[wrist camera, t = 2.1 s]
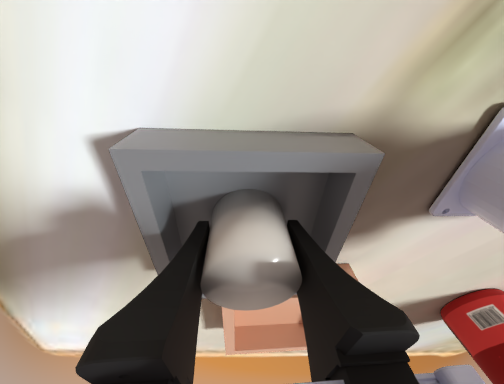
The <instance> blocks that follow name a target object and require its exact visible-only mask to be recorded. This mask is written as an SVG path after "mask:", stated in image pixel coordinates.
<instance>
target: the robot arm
mask: <svg viewBox="0 0 504 384" xmlns="http://www.w3.org/2000/svg"><path fill="white" fill-rule="evenodd" d="M429 213H431V214H432V215H433V216H478V217H479V218H481V219H482V220H484V221H486V222H487V223H489V224H490V225H492V226H493V227H495V228H496V229H498V230H500V231H501V232H503V233H504V107H503V108H502V109H501V110H500V111H499V113H498V114H497V115H496V117H495V118H494V120H493V121H492V122H491V124H490V125H489V126H488V128H487V129H486V131H485V132H484V133H483V135H482V136H481V138H480V139H479V140H478V142H477V143H476V145H475V146H474V147H473V149H472V150H471V152H470V153H469V154H468V156H467V157H466V159H465V160H464V161H463V163H462V164H461V165H460V167H459V168H458V170H457V171H456V172H455V174H454V175H453V177H452V178H451V179H450V181H449V182H448V184H447V185H446V186H445V188H444V189H443V191H442V192H441V193H440V195H439V196H438V197H437V199H436V200H435V202H434V203H433V204H432V206H431V207H430V209H429ZM287 228H288V231H289V235H290V238H291V241H292V245H293V248H294V251H295V254H296V258H297V261H298V264H299V268H300V271H301V275H302V283H301V286H300V288H299V290H298V291H297V296H298V301H299V306H300V311H301V316H302V322H303V327H304V333H305V339H306V345H307V352H308V358H309V365H310V372H311V380H312V382H309V383H295V384H485V382H484V381H483V380H482V379H481V377H480V376H479V375H478V373H477V372H476V371H475V369H474V368H473V367H472V366H471V365H457V366H447V367H442V368H439V369H437V370H436V371H434V373H426V374H414V373H413V372H412V370H411V368H410V366H409V365H408V363H407V362H409V361H410V359H409V357H408V355H407V353H406V352H405V350H407V349H408V348H409V347H411V346H412V345H413V344H415V343H416V342H417V341H418V339H419V333H418V332H417V330H416V329H415V327H414V326H413V324H412V323H411V321H410V320H409V318H408V317H407V315H406V314H405V313H404V312H403V311H402V310H400V309H398V308H397V307H395V306H394V305H392V304H390V303H389V302H387V301H386V300H384V299H382V298H381V297H379V296H378V295H376V294H375V293H373V292H372V291H371V290H369V289H368V288H366V287H365V286H364V285H362V284H361V283H360V282H358V281H357V280H356V279H354V278H353V277H352V276H350V275H349V274H348V273H347V272H346V271H344V270H343V269H342V268H341V267H340V266H339V265H338V264H336V263H335V262H334V261H333V260H332V259H331V258H330V257H329V256H328V255H327V254H326V253H325V252H324V251H323V250H322V249H321V248H320V246H319V245H318V244H317V243H316V242H315V241H314V240H313V239H312V237H311V236H310V235H309V234H308V233H307V231H306V230H305V229H304V228H303V226H302V225H301V224H300V223H299V221H298V220H288V222H287ZM209 230H210V227H209V221H198V222H197V224H196V226H195V228H194V229H193V231H192V233H191V234H190V236H189V237H188V239H187V240H186V242H185V243H184V244H183V246H182V247H181V249H180V250H179V251H178V253H177V254H176V255H175V256H174V258H173V259H172V260H171V261H170V263H169V264H168V265H167V266H166V267H165V268H164V270H163V271H162V272H161V273H160V274H159V275H158V276H157V277H156V278H155V279H154V280H153V281H152V282H151V283H150V284H149V285H148V286H147V287H146V288H145V289H144V290H143V291H142V292H141V293H140V294H138V295H137V296H136V297H135V298H134V299H133V300H132V301H131V302H129V303H128V304H127V305H126V306H125V307H124V308H122V309H121V310H120V311H119V312H117V313H116V314H115V315H114V316H112V317H111V318H110V319H109V320H107V321H106V322H105V323H104V324H102V325H101V326H100V327H98V329H97V331H96V332H95V334H94V335H93V337H92V338H91V340H90V342H89V343H88V345H87V347H86V349H85V351H84V353H83V355H82V356H81V358H80V360H79V362H78V364H77V366H76V373H77V374H78V375H79V376H80V377H82V378H83V379H85V380H86V381H88V382H89V383H91V384H193V377H194V366H195V355H196V345H197V334H198V325H199V316H200V307H201V299H202V290H201V278H202V272H203V266H204V260H205V254H206V248H207V242H208V236H209Z"/></svg>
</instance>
